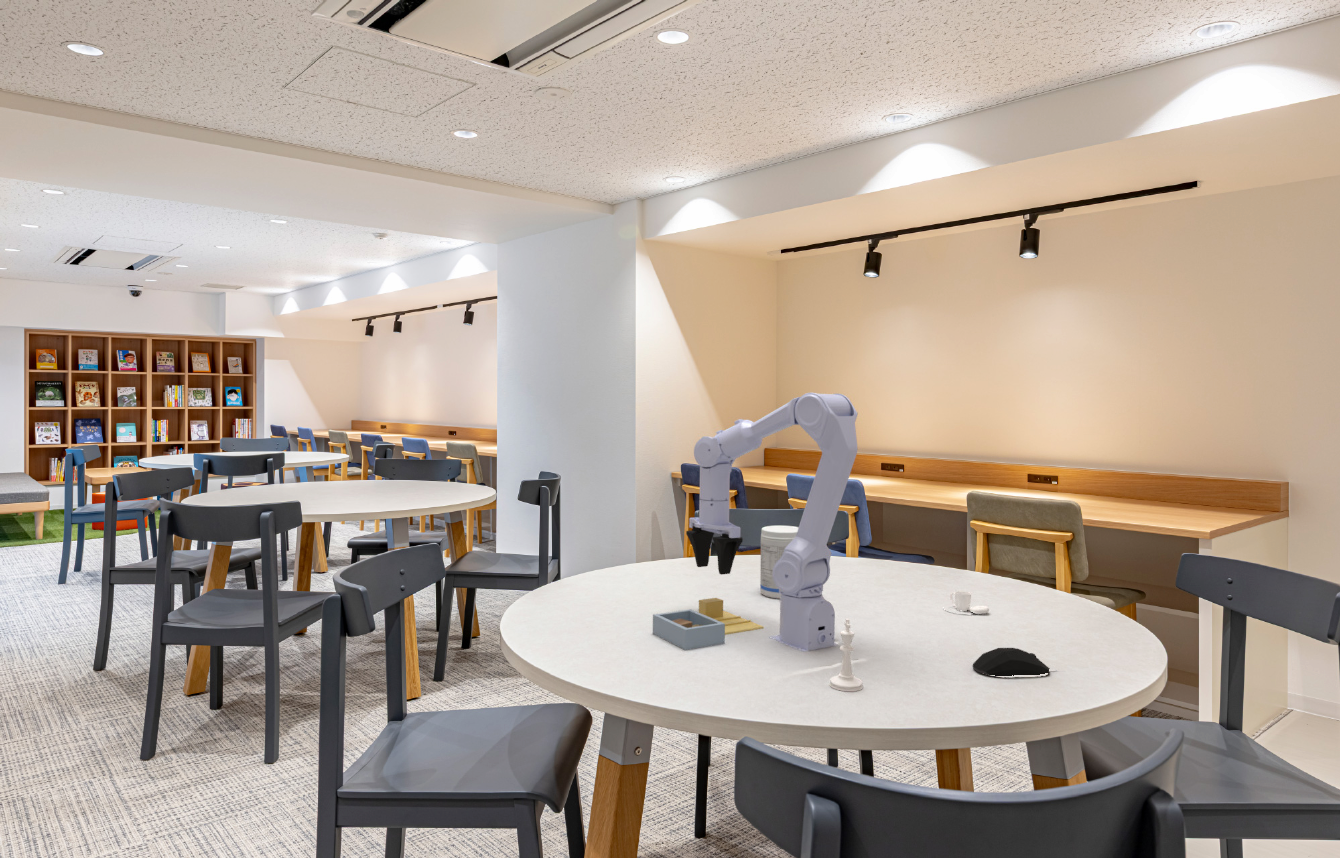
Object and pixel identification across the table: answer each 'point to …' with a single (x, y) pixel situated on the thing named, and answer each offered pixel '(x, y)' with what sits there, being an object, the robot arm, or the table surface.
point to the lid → (726, 616)
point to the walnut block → (683, 623)
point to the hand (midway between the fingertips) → (713, 570)
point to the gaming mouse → (1009, 663)
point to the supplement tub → (773, 555)
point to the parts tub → (689, 629)
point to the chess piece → (846, 665)
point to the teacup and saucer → (967, 603)
